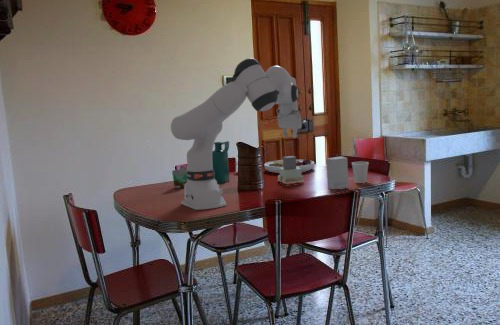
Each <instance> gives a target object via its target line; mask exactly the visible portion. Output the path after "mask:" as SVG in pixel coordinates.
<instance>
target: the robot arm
mask: <svg viewBox="0 0 500 325" xmlns="http://www.w3.org/2000/svg"><path fill="white" fill-rule="evenodd" d="M232 80H233V81H229V82H228V83H226V84H225V85H223V86H222V87H220V88H219V89H217V90H216V91H215V92H213V94H212V95H210V97H208V98H206V100H205V101H203V102H202V103H201V104H199V105H197V106H195V107H193V108H191V109H190V110H188V111H186V112H184V113H183V114H180V115H177V116H176V117H174V118H172V121H171V123H170V131H171V134H172V135H173V137H174V138H175V139H177V140H182V141H191V140H192V141H193V144H192V145H191V147H190V148H189V150H188V151H187V152H186V163H187V166H186V167H187V169H188V171H187V183H186V184H185V185H184V188H183V189H184V190H183V191H184V200H181V201H180V202H181V205H183V206H186V207H188V208H190V209H192V210H198V211H199V210H201V211H202V210H210V209H211V210H212V209H217V208H222V207H225V206H227V202H226V201H225V199H224V197H223V196H222V194H224V190H223V187H222V188H221V186H220V184H219V183H217V181H216V180H215V173H214V169H213V163H212V151H214V149H213V148H214V146H215V144H214V142H216V139H217V137H218V135H219V134H220V133H221V131H222V129H223V122H224V121H225V120H227V119H228V118H229V117H230V116H231V115H233V114H234V113H235V112H236V111H237V110H238V109H239V108H240V107H241V106H242V105H243V103H244V102H245V101H246V100H248V101H249V102H250V103H251V106H252V108H253V109H254V110H255V111H256V112H264V111H268V110H270V109H271V108H273V106H275V105H280V106H279V107H278V108H276V113H277V125H278V128H282V132H283V137H285V138H286V137H289V132H288V129H291V130H292V134H291V136H292V137H291V138H294V139H296V138H298V137H297V133H298V130H300V129H302V127H303V123H302V116H301V114H300V112H299V108H298V106H299V103H298V99H300V95H299V94H300V93H299V87H298V86H297V79H296V78H295V77H292V76H291V75H290V72H288V71H287V70H286V69H285V68H284V67H282V66H279V65H273V66H270V67H269V68H268V69H266V71H264V69H263V67H262V65H261V63H260V62H259V60H257V59H256V58H253V57H248V58H245V59H244V60H242V61H241V62H239V63H238V64H237V65H236V67H235V69H234V73H233V75H232Z"/></svg>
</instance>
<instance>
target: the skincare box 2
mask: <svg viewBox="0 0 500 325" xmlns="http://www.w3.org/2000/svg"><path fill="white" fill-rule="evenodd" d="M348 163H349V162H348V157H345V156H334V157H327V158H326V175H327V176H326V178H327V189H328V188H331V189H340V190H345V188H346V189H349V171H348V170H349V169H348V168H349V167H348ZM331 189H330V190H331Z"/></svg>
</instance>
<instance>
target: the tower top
mask: <svg viewBox="0 0 500 325" xmlns="http://www.w3.org/2000/svg"><path fill="white" fill-rule="evenodd" d="M279 175H280V176H282V177H284V178H292V177H302V176H303V173H302V172H301V169H300V168H298V167H296V169H288V170H287V169H284V168H280V174H279Z"/></svg>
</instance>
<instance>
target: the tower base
mask: <svg viewBox="0 0 500 325" xmlns="http://www.w3.org/2000/svg"><path fill="white" fill-rule="evenodd" d="M304 178H305V176H304V175H302V177H292V178H284V177H282V176H280V174H278V175H277V182H278V181H280V182H283V183H285V184H289V183H296V182H304V181H305V180H304ZM304 183H305V182H304Z"/></svg>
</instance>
